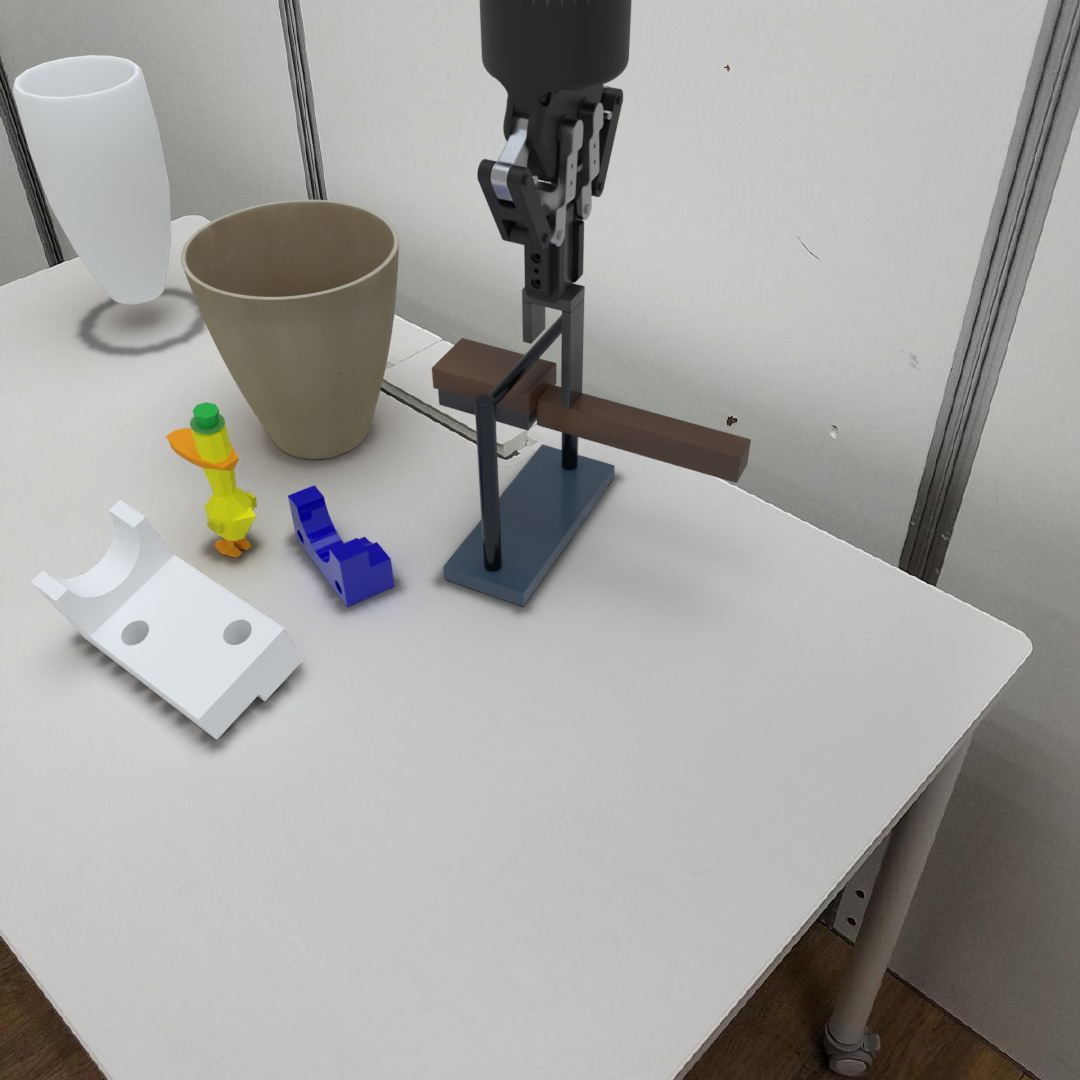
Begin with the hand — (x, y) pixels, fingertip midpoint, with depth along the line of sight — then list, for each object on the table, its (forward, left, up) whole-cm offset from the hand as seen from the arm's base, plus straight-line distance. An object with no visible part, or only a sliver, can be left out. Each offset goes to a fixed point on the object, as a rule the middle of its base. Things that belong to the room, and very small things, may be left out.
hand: (554, 286), depth 66 cm
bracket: (+16, +21, -20) cm, 33 cm away
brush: (-2, 0, -10) cm, 10 cm away
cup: (+46, -10, -20) cm, 51 cm away
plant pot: (+22, -3, -20) cm, 29 cm away
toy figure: (+20, +11, -20) cm, 30 cm away
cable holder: (+12, +9, -20) cm, 24 cm away
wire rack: (+2, 0, -19) cm, 19 cm away
